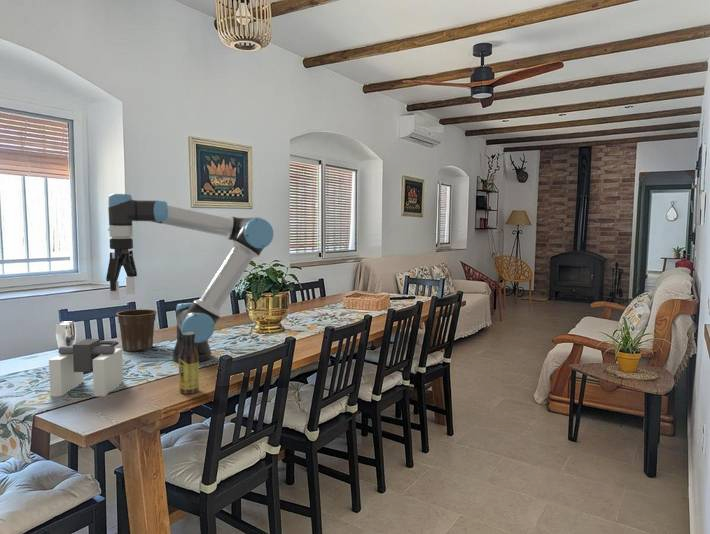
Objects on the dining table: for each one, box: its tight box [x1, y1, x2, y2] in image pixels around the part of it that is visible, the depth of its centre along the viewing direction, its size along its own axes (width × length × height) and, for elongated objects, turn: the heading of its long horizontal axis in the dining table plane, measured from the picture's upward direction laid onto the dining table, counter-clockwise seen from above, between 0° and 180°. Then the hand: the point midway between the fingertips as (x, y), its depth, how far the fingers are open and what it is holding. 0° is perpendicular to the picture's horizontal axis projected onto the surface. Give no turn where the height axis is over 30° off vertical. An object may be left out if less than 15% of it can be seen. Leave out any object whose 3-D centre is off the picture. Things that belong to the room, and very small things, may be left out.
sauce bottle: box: [178, 332, 200, 395], centre depth 163 cm, size 7×6×20 cm
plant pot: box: [116, 309, 158, 352], centre depth 217 cm, size 16×16×16 cm
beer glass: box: [55, 320, 77, 348], centre depth 198 cm, size 7×7×15 cm
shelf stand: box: [48, 345, 124, 397], centre depth 165 cm, size 17×14×14 cm
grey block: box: [73, 338, 101, 373], centre depth 164 cm, size 5×8×9 cm, turn 3°
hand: (123, 297), depth 178 cm, fingers open, 13 cm apart
